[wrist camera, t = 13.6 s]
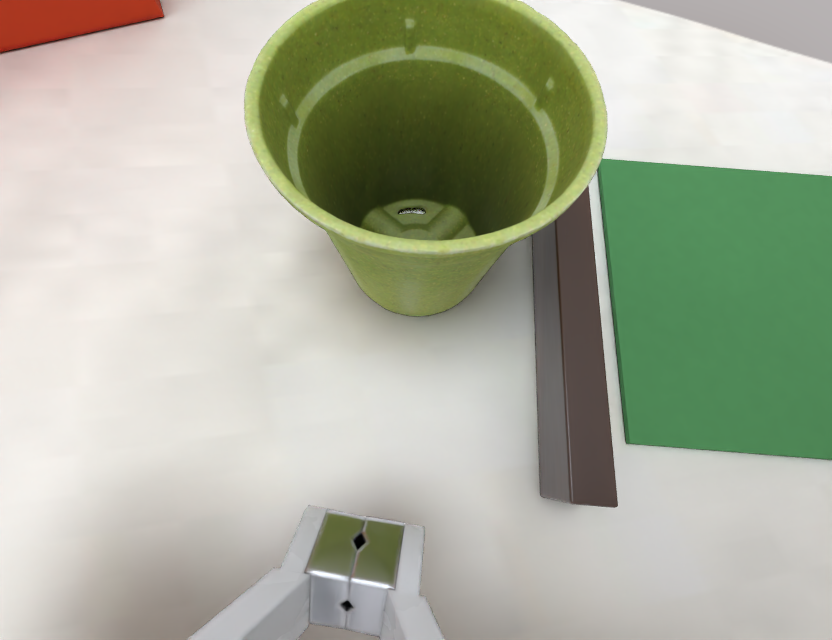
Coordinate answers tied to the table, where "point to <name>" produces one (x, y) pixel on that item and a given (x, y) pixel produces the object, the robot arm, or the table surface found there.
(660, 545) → the table surface
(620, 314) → the green cloth
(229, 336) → the table surface
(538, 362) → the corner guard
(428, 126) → the plant pot
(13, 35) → the file binder
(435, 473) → the table surface
